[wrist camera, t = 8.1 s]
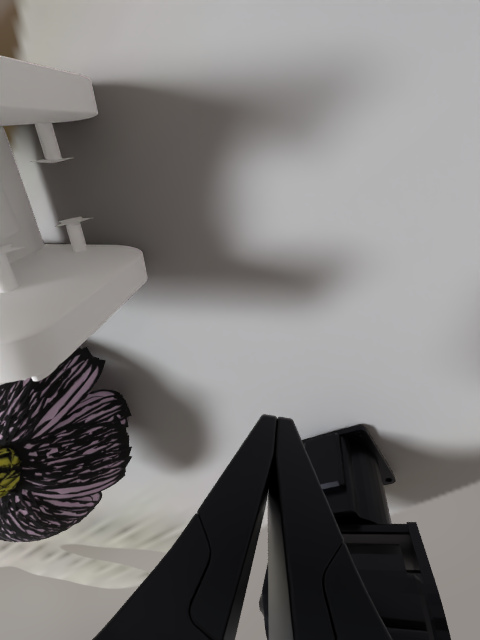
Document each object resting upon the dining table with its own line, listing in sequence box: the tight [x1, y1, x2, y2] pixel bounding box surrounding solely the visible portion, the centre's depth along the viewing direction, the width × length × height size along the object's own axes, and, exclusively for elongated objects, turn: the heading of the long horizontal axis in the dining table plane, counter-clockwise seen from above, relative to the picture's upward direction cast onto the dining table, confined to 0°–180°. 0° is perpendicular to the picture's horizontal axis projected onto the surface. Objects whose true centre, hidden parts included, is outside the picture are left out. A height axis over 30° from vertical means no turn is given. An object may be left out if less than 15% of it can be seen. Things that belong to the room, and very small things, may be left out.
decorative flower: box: [0, 347, 132, 542], centre depth 25 cm, size 14×12×15 cm
